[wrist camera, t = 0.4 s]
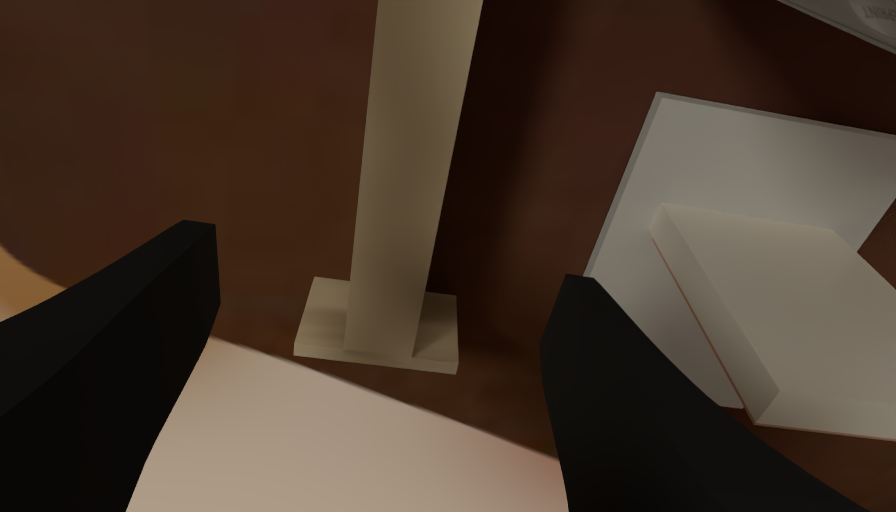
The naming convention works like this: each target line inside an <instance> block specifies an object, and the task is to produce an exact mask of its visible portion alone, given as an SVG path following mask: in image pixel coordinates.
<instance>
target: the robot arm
mask: <svg viewBox="0 0 896 512" xmlns="http://www.w3.org/2000/svg"><path fill="white" fill-rule="evenodd" d="M220 304H221V302H220V287H219V272H218V257H217V242H216V227H215V224H210V223H203V222H196V221H189V220H182V221H180V222H179V223H177V224H175V225H174V226H172V227H170V228H169V229H167V230H165V231H164V232H162V233H161V234H159V235H157V236H156V237H154V238H153V239H151V240H149V241H148V242H146V243H145V244H143V245H141V246H140V247H138V248H137V249H135V250H133V251H132V252H130V253H129V254H127V255H125V256H124V257H122V258H120V259H119V260H117V261H115V262H114V263H112V264H110V265H109V266H107V267H106V268H104V269H102V270H100V271H99V272H97V273H95V274H93V275H92V276H90V277H88V278H86V279H84V280H82V281H81V282H79V283H77V284H75V285H73V286H71V287H70V288H68V289H66V290H64V291H62V292H61V293H59V294H57V295H55V296H53V297H51V298H50V299H48V300H46V301H44V302H42V303H40V304H38V305H36V306H34V307H32V308H30V309H27V310H25V311H23V312H21V313H19V314H17V315H15V316H13V317H10V318H8V319H6V320H4V321H2V322H0V512H126V509H127V507H128V504H129V502H130V499H131V497H132V494H133V492H134V489H135V487H136V484H137V482H138V479H139V477H140V474H141V472H142V469H143V467H144V464H145V462H146V460H147V458H148V456H149V454H150V452H151V449H152V447H153V445H154V443H155V441H156V439H157V437H158V435H159V433H160V431H161V430H162V428H163V426H164V424H165V422H166V420H167V418H168V416H169V414H170V413H171V411H172V409H173V407H174V405H175V403H176V401H177V399H178V397H179V395H180V394H181V392H182V390H183V388H184V386H185V384H186V382H187V380H188V378H189V377H190V375H191V373H192V371H193V369H194V367H195V365H196V363H197V361H198V359H199V357H200V355H201V353H202V351H203V349H204V348H205V345H206V343H207V340H208V337H209V335H210V332H211V329H212V327H213V324H214V321H215V318H216V315H217V312H218V309H219V306H220ZM540 354H541V368H542V379H543V387H544V392H545V397H546V402H547V407H548V411H549V416H550V421H551V425H552V430H553V434H554V439H555V443H556V448H557V452H558V456H559V461H560V465H561V470H562V474H563V479H564V484H565V490H566V495H567V501H568V508H569V512H870V511H868V510H866V509H865V508H863V507H861V506H859V505H858V504H856V503H855V502H853V501H851V500H850V499H848V498H846V497H845V496H843V495H842V494H840V493H839V492H837V491H836V490H834V489H832V488H831V487H829V486H828V485H826V484H825V483H823V482H821V481H820V480H818V479H817V478H815V477H814V476H812V475H811V474H809V473H808V472H806V471H805V470H803V469H802V468H800V467H799V466H797V465H796V464H794V463H793V462H792V461H790V460H789V459H787V458H786V457H784V456H783V455H782V454H780V453H779V452H778V451H776V450H775V449H774V448H772V447H771V446H769V445H768V444H767V443H765V442H764V441H763V440H761V439H760V438H759V437H757V436H756V435H755V434H753V433H752V432H751V431H749V430H748V429H747V428H746V427H744V426H743V425H742V424H740V423H739V422H738V421H737V420H735V419H734V418H733V417H732V416H731V415H730V414H728V413H727V412H726V411H725V410H724V409H722V408H721V407H720V406H719V405H718V404H717V403H715V402H714V401H713V400H712V399H711V398H709V397H708V396H707V395H706V394H705V393H704V392H703V391H702V390H700V389H699V388H698V387H697V386H696V385H695V384H694V383H693V382H692V381H691V380H690V379H689V378H688V377H687V376H686V375H685V374H684V373H683V372H682V371H681V370H679V369H678V368H677V367H676V366H675V365H674V364H673V363H672V362H671V361H670V360H669V359H668V358H667V357H666V356H665V355H664V354H663V353H662V351H661V350H660V349H659V348H658V347H657V346H656V345H655V344H654V343H653V342H652V341H651V340H650V339H649V338H648V337H647V336H646V334H645V333H644V332H643V331H642V330H641V329H640V328H639V327H638V326H637V325H636V323H635V322H634V321H633V320H632V319H631V318H630V317H629V316H628V315H627V313H626V312H625V311H624V310H623V309H622V308H621V307H620V306H619V304H618V303H617V302H616V301H615V300H614V299H613V298H612V297H611V295H610V294H609V293H608V292H607V291H606V290H605V289H604V288H603V287H602V286H601V284H600V283H599V282H598V281H597V280H596V279H595V278H593V277H585V276H578V275H571V274H566V275H565V278H564V281H563V283H562V286H561V289H560V291H559V294H558V297H557V299H556V302H555V305H554V307H553V310H552V313H551V315H550V318H549V321H548V323H547V326H546V328H545V331H544V334H543V336H542V339H541V342H540Z"/></svg>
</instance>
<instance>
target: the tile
mask: <svg viewBox="0 0 896 512" xmlns="http://www.w3.org/2000/svg"><path fill="white" fill-rule="evenodd" d="M648 230H649V232H650V233H651V235H652V237H653V238H652V241H653V243H654V244H655V246H656V248H657V250H658V252H659V254H660V255H661V257H662V259H663V261H664V263H665V264H666V266H667V268H668V270H669V272H670V274H671V275H672V277H673V279H674V281H675V283H676V284H677V286H678V288H679V290H680V292H681V293H682V295H683V297H684V299H685V301H686V303H687V304H688V306H689V308H690V310H691V312H692V313H693V315H694V317H695V319H696V321H697V323H698V324H699V326H700V328H701V330H702V332H703V333H704V335H705V337H706V339H707V341H708V343H709V344H710V346H711V348H712V350H713V352H714V353H715V355H716V357H717V359H718V361H719V363H720V364H721V366H722V368H723V370H724V372H725V373H726V375H727V377H728V379H729V381H730V382H731V384H732V386H733V388H734V390H735V392H736V393H737V395H738V397H739V399H740V401H741V402H742V404H743V406H744V408H745V410H746V412H747V413H748V415H749V417H750V419H751V421H752V422H753V424H754V425H759V426H768V427H777V428H785V429H794V430H803V431H811V432H820V433H829V434H837V435H846V436H855V437H863V438H872V439H881V440H889V441H896V290H895V289H894V288H893V287H892V286H891V285H890V284H889V283H888V282H887V281H886V280H885V279H884V278H883V277H882V276H881V275H880V274H879V273H878V272H877V271H875V270H874V269H873V268H872V267H871V266H870V265H869V264H868V263H867V262H866V261H865V260H864V259H863V258H862V257H861V256H860V255H859V254H858V253H857V252H856V251H854V250H853V249H852V248H851V247H850V246H849V245H848V244H847V243H846V242H845V241H844V240H843V239H842V238H841V237H840V236H839V235H838V234H837V233H836V232H834V231H833V230H829V229H823V228H817V227H811V226H804V225H798V224H792V223H786V222H779V221H773V220H767V219H760V218H754V217H748V216H742V215H735V214H729V213H723V212H716V211H710V210H704V209H698V208H691V207H685V206H679V205H673V204H666V203H660V205H659V207H658V210H657V212H656V214H655V216H654V218H653V221H652V223H651V225H650V227H649V229H648Z"/></svg>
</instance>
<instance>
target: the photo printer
mask: <svg viewBox="0 0 896 512" xmlns="http://www.w3.org/2000/svg"><path fill="white" fill-rule="evenodd" d="M777 1H780V2H782V3H784V4H786V5H788V6H791V7H793V8H795V9H797V10H799V11H801V12H804V13H806V14H808V15H810V16H812V17H814V18H817V19H819V20H821V21H823V22H825V23H828V24H830V25H832V26H835V27H837V28H839V29H841V30H843V31H846V32H848V33H850V34H852V35H855V36H857V37H859V38H861V39H863V40H865V41H867V42H869V43H872V44H874V45H876V46H878V47H881V48H883V49H885V50H888V51H890V52H892V53H894V54H896V0H777Z"/></svg>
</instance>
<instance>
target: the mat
mask: <svg viewBox="0 0 896 512" xmlns="http://www.w3.org/2000/svg"><path fill="white" fill-rule="evenodd" d="M895 198H896V135H892V134H887V133H881V132H876V131H870V130H865V129H859V128H854V127H848V126H843V125H837V124H832V123H826V122H821V121H815V120H810V119H804V118H799V117H793V116H788V115H782V114H777V113H771V112H766V111H760V110H755V109H749V108H744V107H738V106H733V105H727V104H722V103H716V102H711V101H705V100H700V99H695V98H689V97H684V96H678V95H673V94H667V93H662V92H656V94H655V97H654V100H653V102H652V105H651V107H650V110H649V112H648V115H647V117H646V120H645V122H644V125H643V127H642V130H641V132H640V135H639V137H638V140H637V142H636V145H635V147H634V150H633V152H632V155H631V157H630V160H629V162H628V165H627V167H626V170H625V172H624V175H623V177H622V180H621V182H620V185H619V187H618V190H617V192H616V195H615V197H614V200H613V202H612V205H611V207H610V210H609V212H608V215H607V217H606V220H605V222H604V225H603V227H602V230H601V232H600V235H599V237H598V240H597V242H596V245H595V247H594V250H593V252H592V255H591V257H590V260H589V262H588V265H587V267H586V270H585V272H584V275H583V276H585V277H593V278H595V279H596V280H597V281H598V282H599V283H600V284H601V286H602V287H603V288H604V289H605V290H606V291H607V292H608V293H609V294H610V295H611V297H612V298H613V299H614V300H615V301H616V302H617V303H618V304H619V306H620V307H621V308H622V309H623V310H624V311H625V312H626V313H627V315H628V316H629V317H630V318H631V319H632V320H633V321H634V322H635V323H636V325H637V326H638V327H639V328H640V329H641V330H642V331H643V332H644V333H645V334H646V336H647V337H648V338H649V339H650V340H651V341H652V342H653V343H654V344H655V345H656V346H657V347H658V348H659V349H660V350H661V351H662V353H663V354H664V355H665V356H666V357H667V358H668V359H669V360H670V361H671V362H672V363H673V364H674V365H675V366H676V367H677V368H678V369H679V370H681V371H682V372H683V373H684V374H685V375H686V376H687V377H688V378H689V379H690V380H691V381H692V382H693V383H694V384H695V385H696V386H697V387H698V388H699V389H700V390H702V391H703V392H704V393H705V394H706V395H707V396H708V397H709V398H711V399H712V400H713V401H714V402H715V403H717V404H718V405H719V406H724V407H732V408H741V409H743V407H744V406H743V404H742V402H741V401H740V399H739V397H738V395H737V393H736V392H735V390H734V388H733V386H732V384H731V382H730V381H729V379H728V377H727V375H726V373H725V372H724V370H723V368H722V366H721V364H720V363H719V361H718V359H717V357H716V355H715V353H714V352H713V350H712V348H711V346H710V344H709V343H708V341H707V339H706V337H705V335H704V333H703V332H702V330H701V328H700V326H699V324H698V323H697V321H696V319H695V317H694V315H693V313H692V312H691V310H690V308H689V306H688V304H687V303H686V301H685V299H684V297H683V295H682V293H681V292H680V290H679V288H678V286H677V284H676V283H675V281H674V279H673V277H672V275H671V274H670V272H669V270H668V268H667V266H666V264H665V263H664V261H663V259H662V257H661V255H660V254H659V252H658V250H657V248H656V246H655V244H654V243H653V241H652V238H653V237H652V235H651V233H650V232H649V230H648V229H649V227H650V225H651V223H652V221H653V218H654V216H655V214H656V212H657V210H658V207H659V205H660V203H666V204H673V205H679V206H685V207H691V208H698V209H704V210H710V211H716V212H723V213H729V214H735V215H742V216H748V217H754V218H760V219H767V220H773V221H779V222H786V223H792V224H798V225H804V226H811V227H817V228H823V229H829V230H833V231H834V232H836V233H837V234H838V235H839V236H840V237H841V238H842V239H843V240H844V241H845V242H846V243H847V244H848V245H849V246H850V247H851V248H852V249H853V250H854V251H856V252H857V251H858V249H859V248H860V246H861V245H862V244H863V242H864V241H865V240H866V238H867V237H868V235H869V234H870V233H871V231H872V230H873V229H874V227H875V226H876V224H877V223H878V222H879V220H880V219H881V218H882V216H883V215H884V213H885V212H886V211H887V209H888V208H889V207H890V205H891V204H892V202H893V201H894V200H895Z"/></svg>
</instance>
